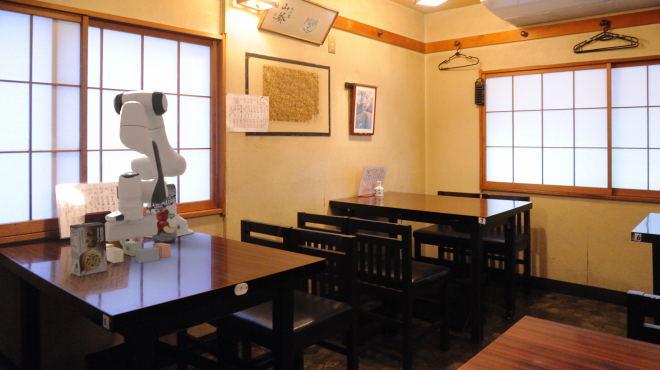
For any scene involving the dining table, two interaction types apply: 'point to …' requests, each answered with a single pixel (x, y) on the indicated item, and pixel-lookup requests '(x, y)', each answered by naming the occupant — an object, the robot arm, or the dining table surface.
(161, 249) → the terracotta block
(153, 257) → the slate block
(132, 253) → the green block
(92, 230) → the food box
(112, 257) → the cream block
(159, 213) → the juice carton
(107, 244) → the mustard block
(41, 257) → the dining table surface
